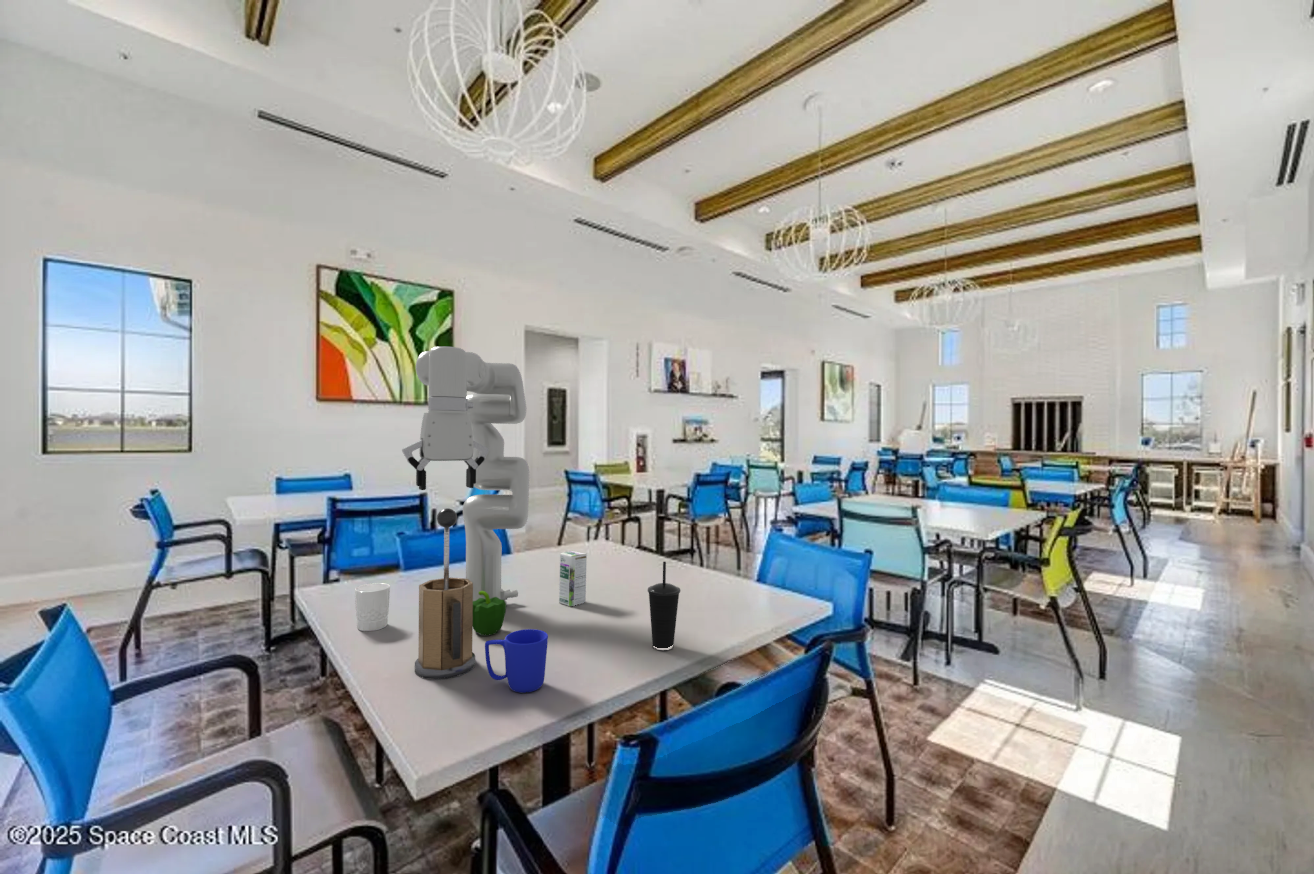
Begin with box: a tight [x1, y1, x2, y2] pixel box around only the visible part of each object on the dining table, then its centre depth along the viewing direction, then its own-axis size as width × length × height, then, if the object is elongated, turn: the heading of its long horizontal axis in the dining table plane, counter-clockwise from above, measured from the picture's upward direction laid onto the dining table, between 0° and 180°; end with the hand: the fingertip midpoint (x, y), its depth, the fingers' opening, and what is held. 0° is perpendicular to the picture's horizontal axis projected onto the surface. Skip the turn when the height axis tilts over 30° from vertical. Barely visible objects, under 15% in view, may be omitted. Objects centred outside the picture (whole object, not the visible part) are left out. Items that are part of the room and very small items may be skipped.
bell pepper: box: [473, 591, 507, 636], centre depth 141 cm, size 8×8×10 cm
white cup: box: [354, 582, 391, 632], centre depth 143 cm, size 8×8×10 cm
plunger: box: [436, 507, 458, 590], centre depth 120 cm, size 8×8×19 cm
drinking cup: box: [647, 561, 681, 648], centre depth 133 cm, size 8×8×20 cm
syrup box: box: [558, 550, 588, 607], centre depth 165 cm, size 6×6×14 cm
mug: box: [484, 628, 549, 694], centre depth 111 cm, size 8×12×10 cm
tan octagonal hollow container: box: [414, 576, 476, 680], centre depth 119 cm, size 12×14×18 cm
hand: (446, 488), depth 119 cm, fingers open, 9 cm apart
